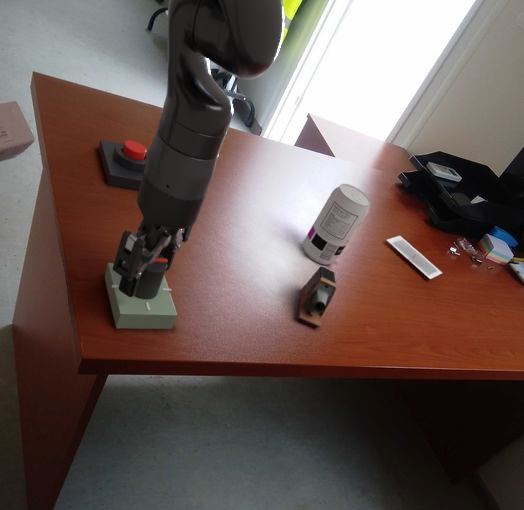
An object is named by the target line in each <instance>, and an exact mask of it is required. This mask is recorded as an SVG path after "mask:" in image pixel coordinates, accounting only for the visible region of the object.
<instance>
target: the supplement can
mask: <svg viewBox="0 0 524 510" xmlns="http://www.w3.org/2000/svg"><path fill="white" fill-rule="evenodd" d="M371 204H372V203H371V200H370V198H369V196H368V195H367V194H366V193H365V192H363V191H362V190H361V189H359V188H357V187H356V186H354V185H351V184H348V183H340V184H339V186H337V187H335V188H334V189H333V190H332V191H331V192H330V195H329V197H328V198H327V200H326V202H325V203H324V205H323V207H322V209H321V210H320V212H319V214H318V216H316V219H315V220H314V222H313V224H312V225H311V228H310V229H309V231H308V232H307V234H306V236H305V238H304V240H303V241H302V247H303V251H304V253H305V254H306V255H307V256H308V257H309V258H310V259H311V260H313V261H314V262H316V263H317V264H320V265H325V266H328V265H332V264H333V265H334V264H335V263H336V262H337V260H338V258H339V257H340V255H341V254H342V253H343V251H344V249H346V247H347V245H348V244H349V242H350V240H351V239H352V237H353V236H354V235H355V233H356V231H357V230H358V229H359V227H360V226H361V224H362V223H363V221H364V220H365V218H366V217H367V215H368V214H369V212H370V206H371Z"/></svg>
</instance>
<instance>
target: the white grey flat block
mask: <svg viewBox="0 0 524 510" xmlns="http://www.w3.org/2000/svg"><path fill="white" fill-rule="evenodd" d="M386 241H387V242H388V243H389V244H390V245H391V246H392V247H393V248H394V249H396V250H397V251H398V252H399V253H400V254H401V255H402V256H403V257H404V258H405V259H407V260H408V261H409V262H410V263H411V264H413V265H414V266H415V267H416V269H418V270H419V271H420V272H421V273H422V274H424V276H425V277H427V278H428V279H429V280H432V279H434V278H436V277H438V276H440V275H441V274H443V272H442V271H441V270H440V269H439V268H438V267H436V266H435V265H434V264H433V263H432V262H431V261H429V260H428V259H427V257H425V256H424V255H423V254H422V253H421V252H420V251H418V250H417V249H416V248H415V247H414V246H413V245H411V243H409V242H408V241H407V240H405V238H403V237H402V236H401V235H397V236H394V237H391V238H388V239H386Z"/></svg>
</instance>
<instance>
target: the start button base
mask: <svg viewBox="0 0 524 510" xmlns="http://www.w3.org/2000/svg"><path fill="white" fill-rule="evenodd" d="M124 144H125V142H115V141H110V140H105V139H102V138H100V139H99V145H98V153H99V156H100V160H101V163H102V166H103V167H102V168H103V171H104V174H105V177H106V181H107V185H108V186H111V187H117V188H123V189H129V190H135V191H139V188H140V184H141V180H142V176H143V173H144V169H145V165H146V161H147V157H148V153H149V150H150V149H146V154H145V158H144V160H135V159H132V158H130V157H128V156H126V155H125V154H124V153H123V149H124Z"/></svg>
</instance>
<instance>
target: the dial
mask: <svg viewBox="0 0 524 510" xmlns="http://www.w3.org/2000/svg"><path fill="white" fill-rule="evenodd" d="M142 253H144V254H145V255H147V256H149V255H150V254H151V253H152V252H150V251H148V250H147V249H145V250H144V252H142ZM140 263H141V259H140V261H139V264H138V266H139V265H140ZM137 268H138V267H137ZM166 268H167V259H165V258H164V257H163V256H161V255H160V254H159V255H158V257H157V258H156V260H155V261H154V263H153V264H151V265H147V267H146V268H145V270H144V271H143V273H142V275H141V278H140V281H139V284H138V287H137V291H136V294H135V295H134V296H136V297H138V298H141V299H152V298H154V297H156V296H157V294H158V291H159V288H160V285H161V283H162V280H163V277H164V276H165V274H166V272H167V271H166Z"/></svg>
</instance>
